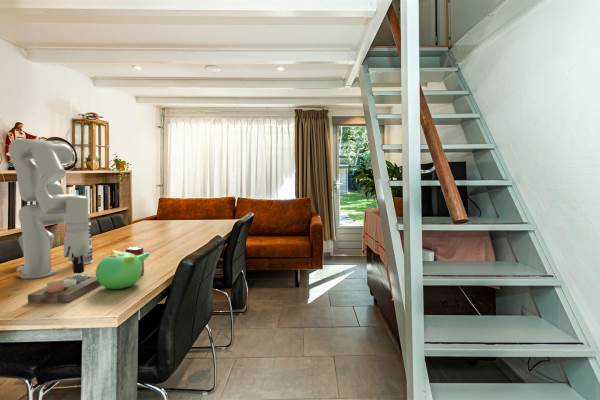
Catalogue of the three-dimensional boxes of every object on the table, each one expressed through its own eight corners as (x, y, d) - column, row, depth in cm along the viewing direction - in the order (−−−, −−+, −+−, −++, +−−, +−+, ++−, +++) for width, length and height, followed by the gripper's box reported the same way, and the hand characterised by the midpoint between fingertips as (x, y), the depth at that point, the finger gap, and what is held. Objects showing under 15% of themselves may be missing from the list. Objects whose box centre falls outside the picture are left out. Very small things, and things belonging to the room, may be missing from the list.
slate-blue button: (69, 287, 136) (69, 277, 136) (77, 283, 141) (77, 273, 141) (82, 287, 136) (82, 277, 136) (90, 283, 141) (89, 273, 141)
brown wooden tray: (28, 303, 121) (27, 294, 121) (69, 283, 143) (68, 276, 142) (68, 302, 121) (68, 294, 121) (103, 283, 143) (103, 276, 143)
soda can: (137, 277, 152) (136, 250, 151) (122, 276, 153) (121, 249, 152) (147, 272, 159) (146, 246, 158) (133, 272, 160) (132, 246, 159)
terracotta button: (43, 295, 122) (43, 284, 122) (53, 291, 127) (53, 280, 127) (58, 295, 122) (57, 284, 122) (67, 291, 127) (67, 280, 127)
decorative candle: (88, 259, 185) (86, 212, 183) (97, 262, 179) (95, 213, 178) (69, 263, 177) (67, 214, 176) (77, 265, 172) (75, 215, 170)
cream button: (57, 293, 129) (57, 282, 129) (66, 288, 134) (66, 278, 134) (71, 293, 129) (70, 282, 129) (79, 288, 134) (79, 278, 134)
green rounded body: (110, 281, 146) (109, 246, 145) (151, 280, 148) (150, 245, 147) (87, 295, 128) (86, 256, 127) (135, 294, 130) (133, 255, 129)
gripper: (79, 224, 145) (80, 267, 146) (54, 230, 130) (56, 278, 131) (97, 224, 145) (98, 267, 146) (75, 230, 130) (76, 278, 131)
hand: (78, 272), depth 139 cm, fingers closed
